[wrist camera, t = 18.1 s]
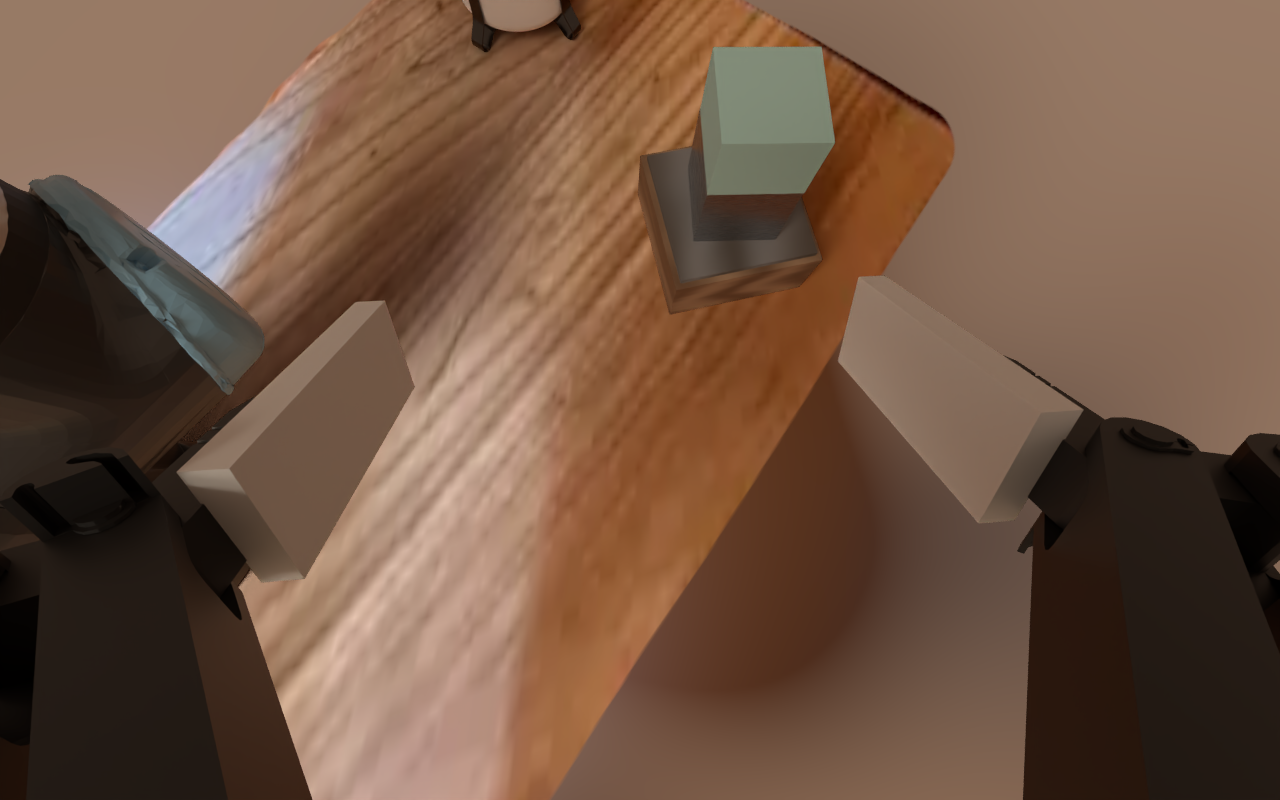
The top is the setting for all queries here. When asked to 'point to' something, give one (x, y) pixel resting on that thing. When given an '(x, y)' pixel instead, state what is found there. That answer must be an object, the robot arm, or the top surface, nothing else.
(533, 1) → the coffee press
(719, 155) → the lid
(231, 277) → the top surface
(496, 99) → the top surface
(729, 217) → the base
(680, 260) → the walnut stand
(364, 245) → the top surface
